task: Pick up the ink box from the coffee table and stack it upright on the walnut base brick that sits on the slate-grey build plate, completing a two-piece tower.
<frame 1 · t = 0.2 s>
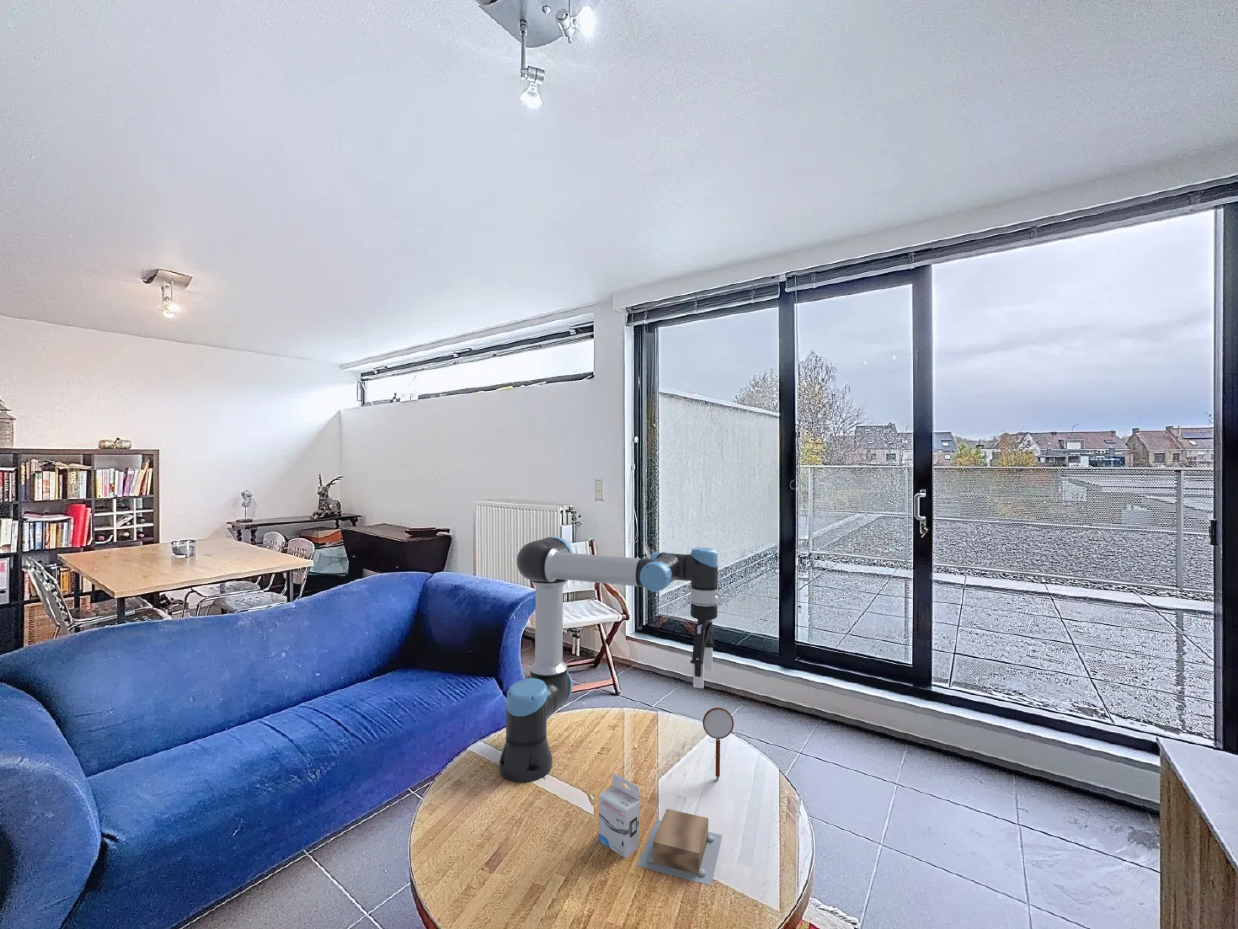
hand: (703, 678, 149), 28 cm above the table, fingers open, 13 cm apart
base brick: (681, 849, 119), point 1 cm above the table, touching build plate
ink box: (618, 850, 120), on the table
magnifying glass: (717, 780, 148), on the table
build plate: (681, 855, 119), on the table
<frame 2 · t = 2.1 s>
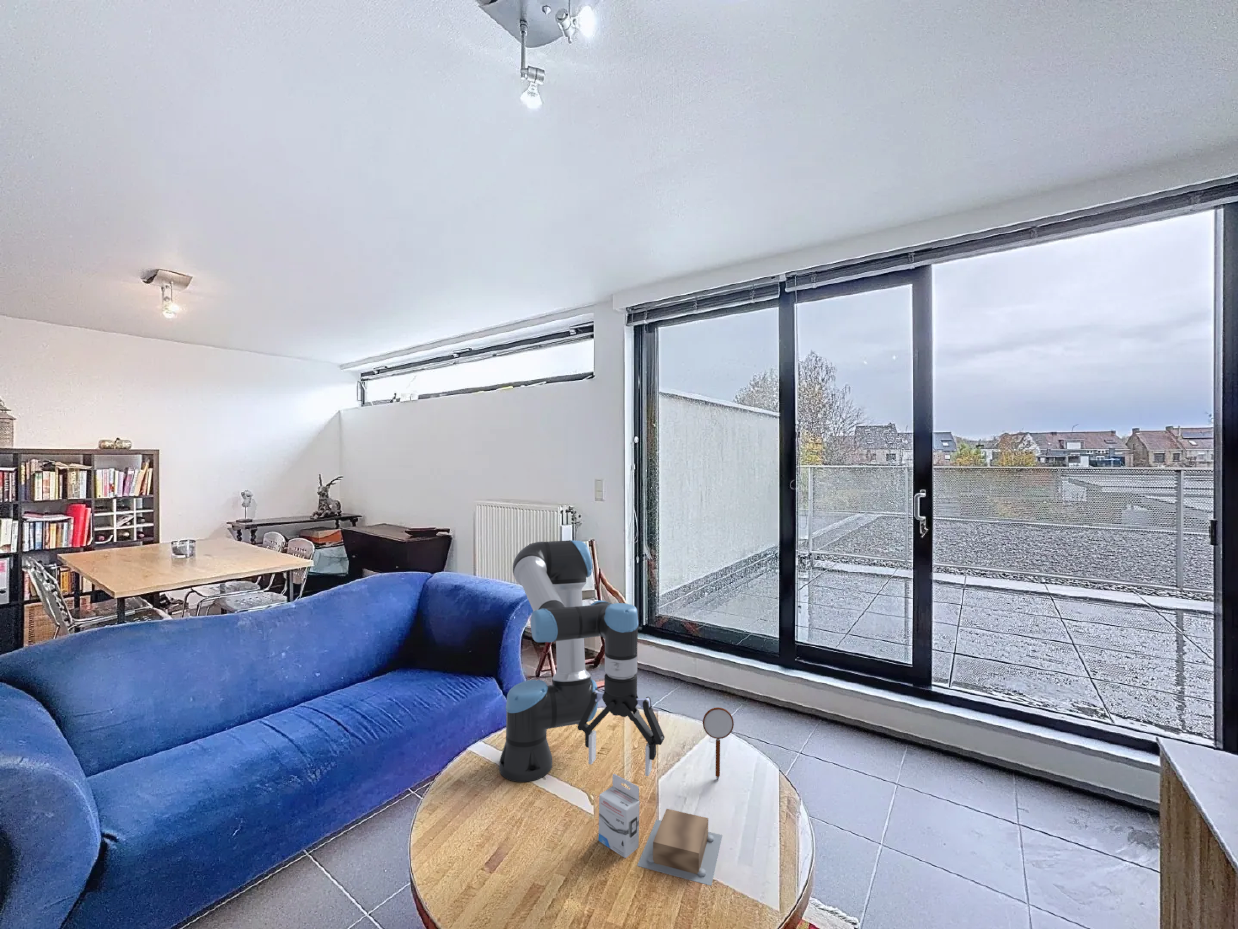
hand: (619, 767, 121), 19 cm above the table, fingers open, 13 cm apart
nothing on the table moved.
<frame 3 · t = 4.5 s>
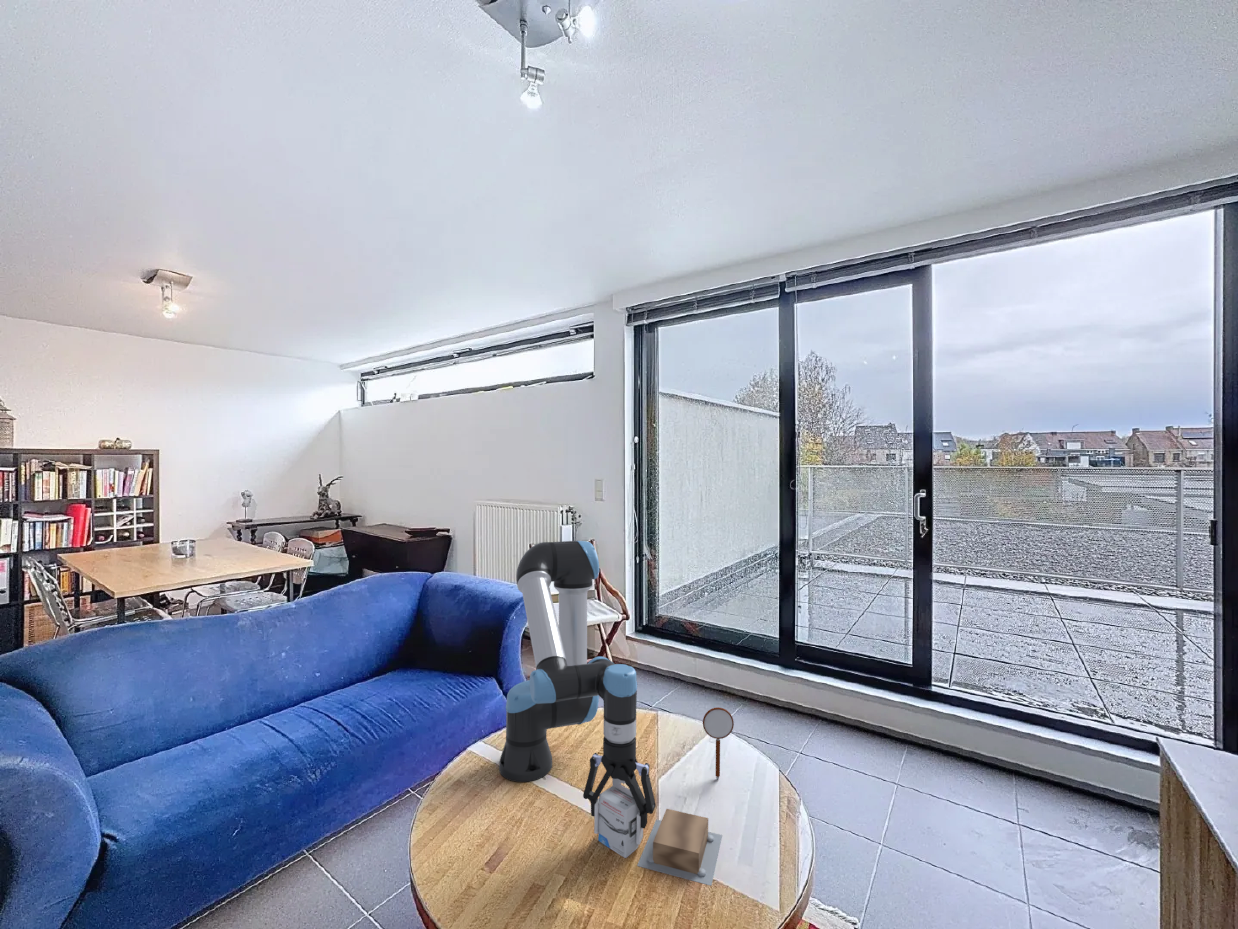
hand: (618, 835, 120), 3 cm above the table, fingers closed on ink box, 9 cm apart
ink box: (618, 849, 120), on the table, touching gripper
everything else where it was.
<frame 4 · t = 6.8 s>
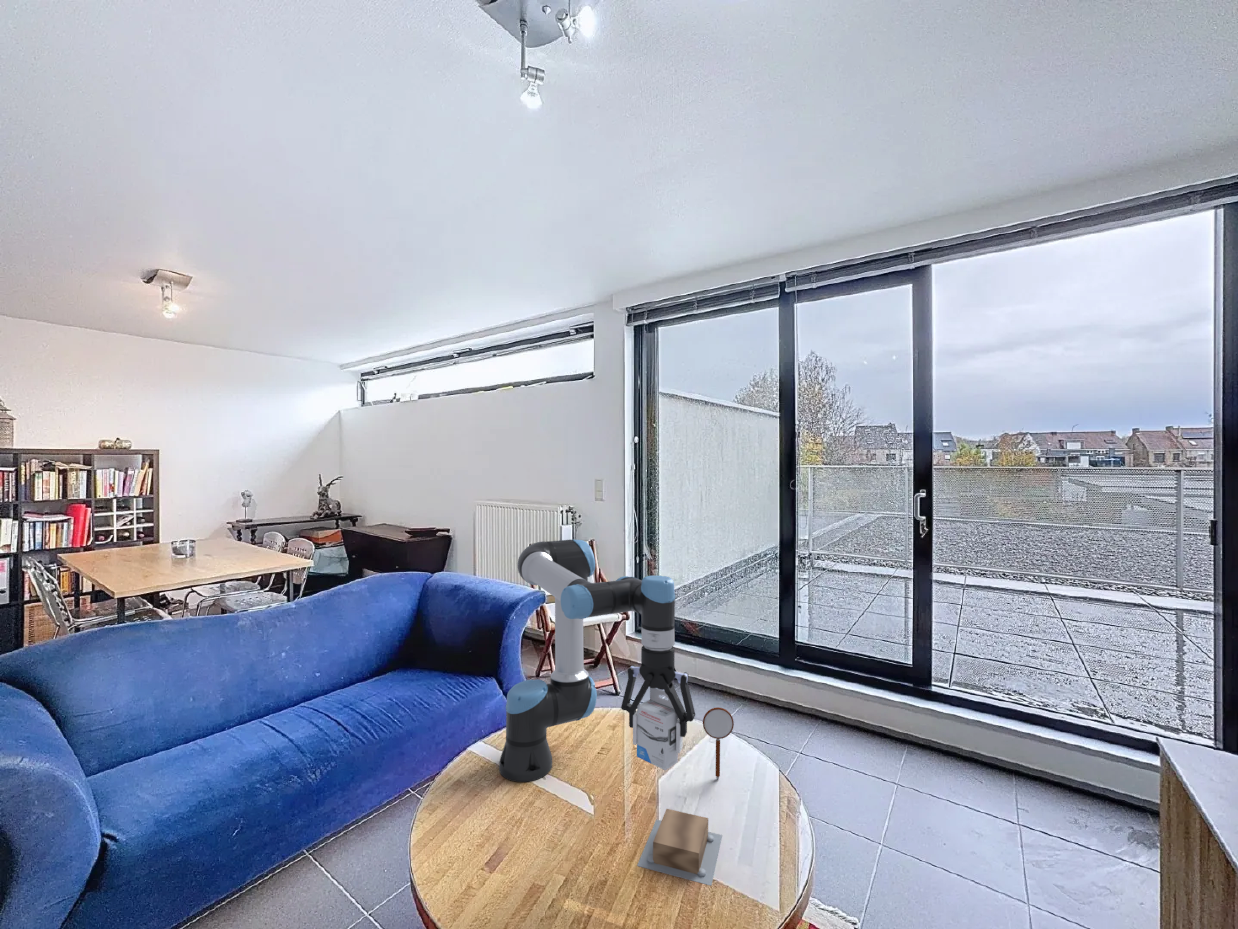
hand: (657, 746, 119), 24 cm above the table, fingers closed on ink box, 9 cm apart
ink box: (657, 761, 119), point 21 cm above the table, touching gripper
everything else where it was.
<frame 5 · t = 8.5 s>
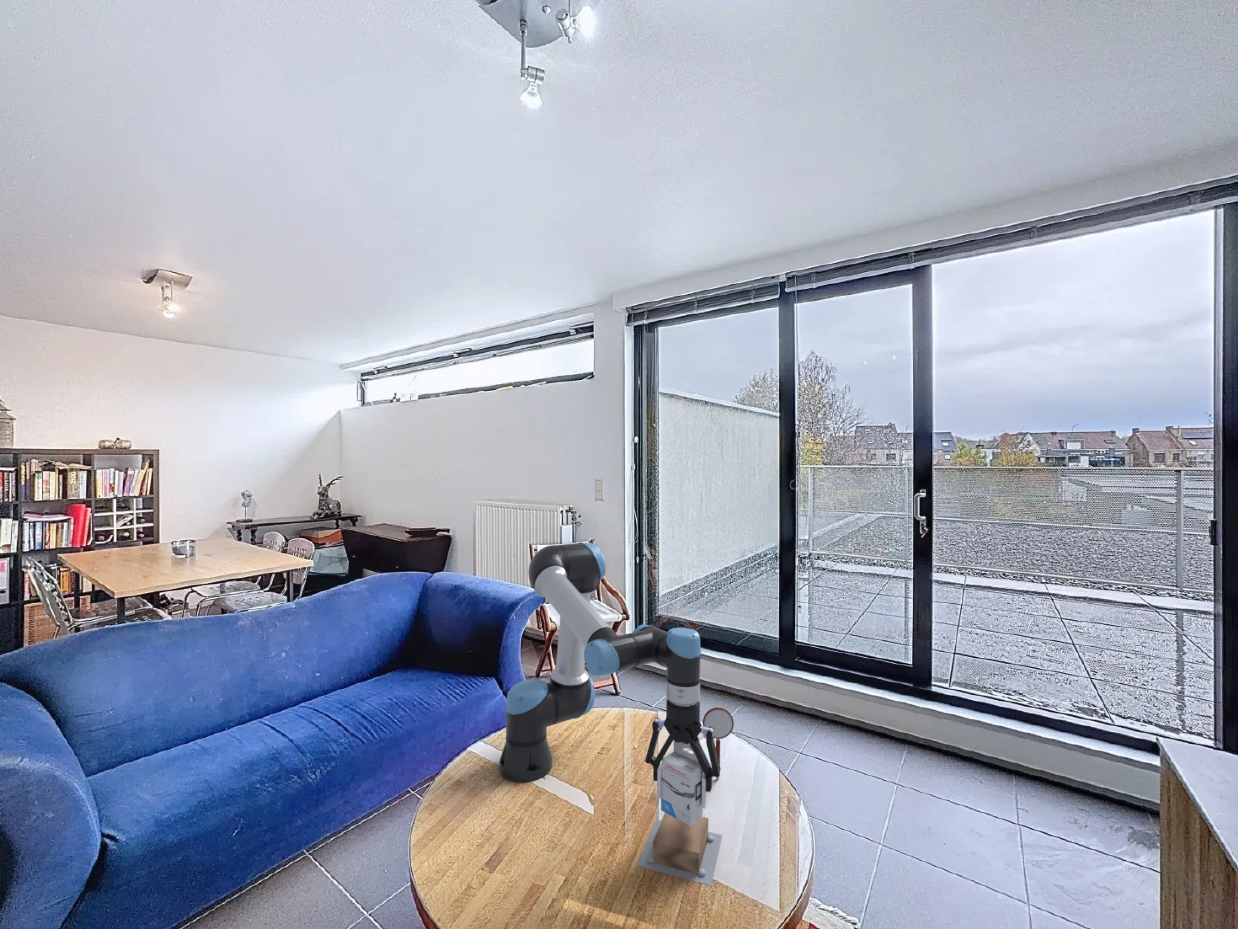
hand: (682, 799, 119), 12 cm above the table, fingers closed on ink box, 9 cm apart
ink box: (681, 814, 119), point 9 cm above the table, touching gripper
everything else where it was.
when the fingers open (10 cm above the table, at t = 9.6 s): ink box drops 1 cm, resting on base brick.
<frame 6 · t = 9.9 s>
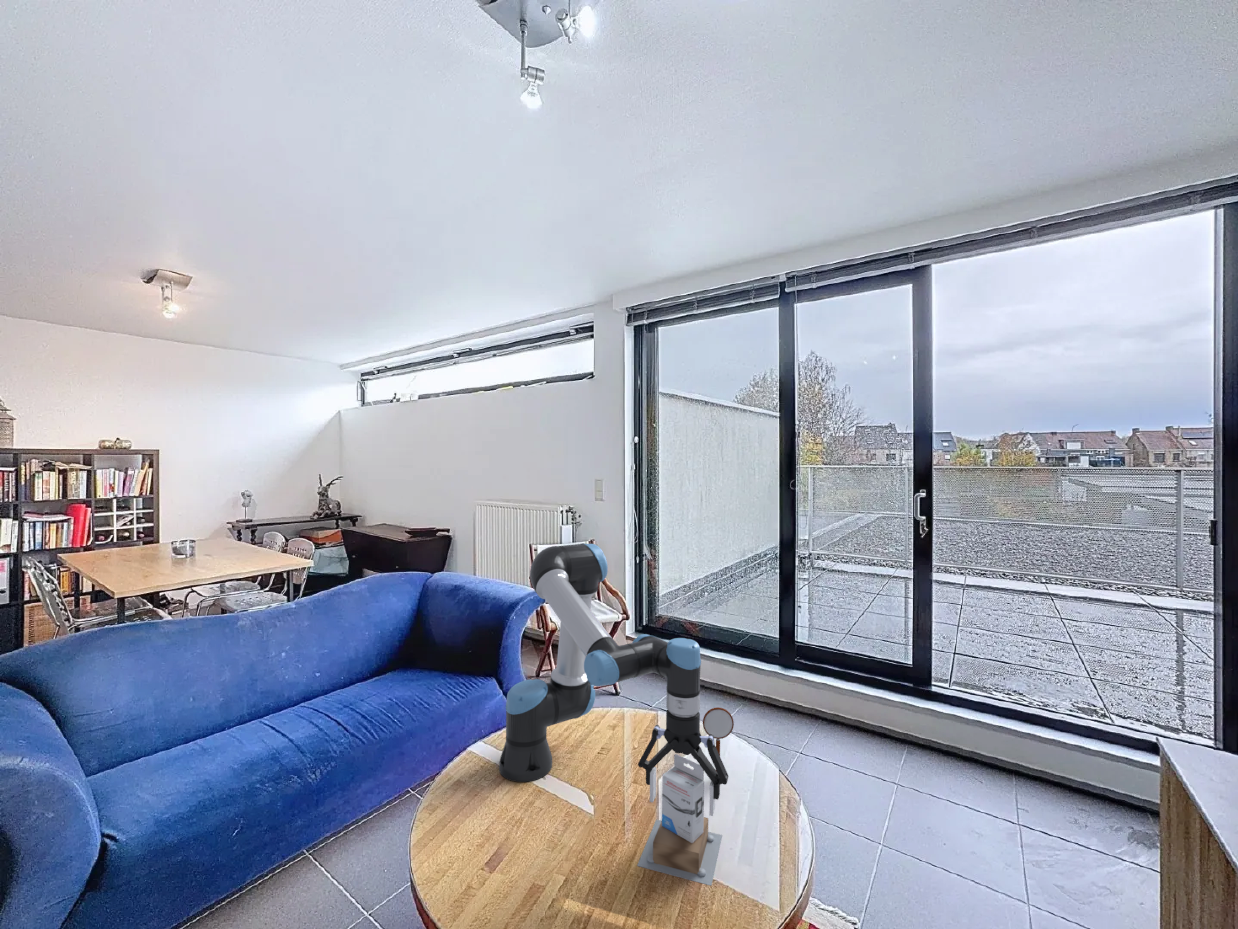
hand: (681, 805, 119), 11 cm above the table, fingers open, 13 cm apart
base brick: (681, 849, 119), point 1 cm above the table, touching build plate, ink box
ink box: (682, 830, 119), point 6 cm above the table, touching base brick
everything else where it was.
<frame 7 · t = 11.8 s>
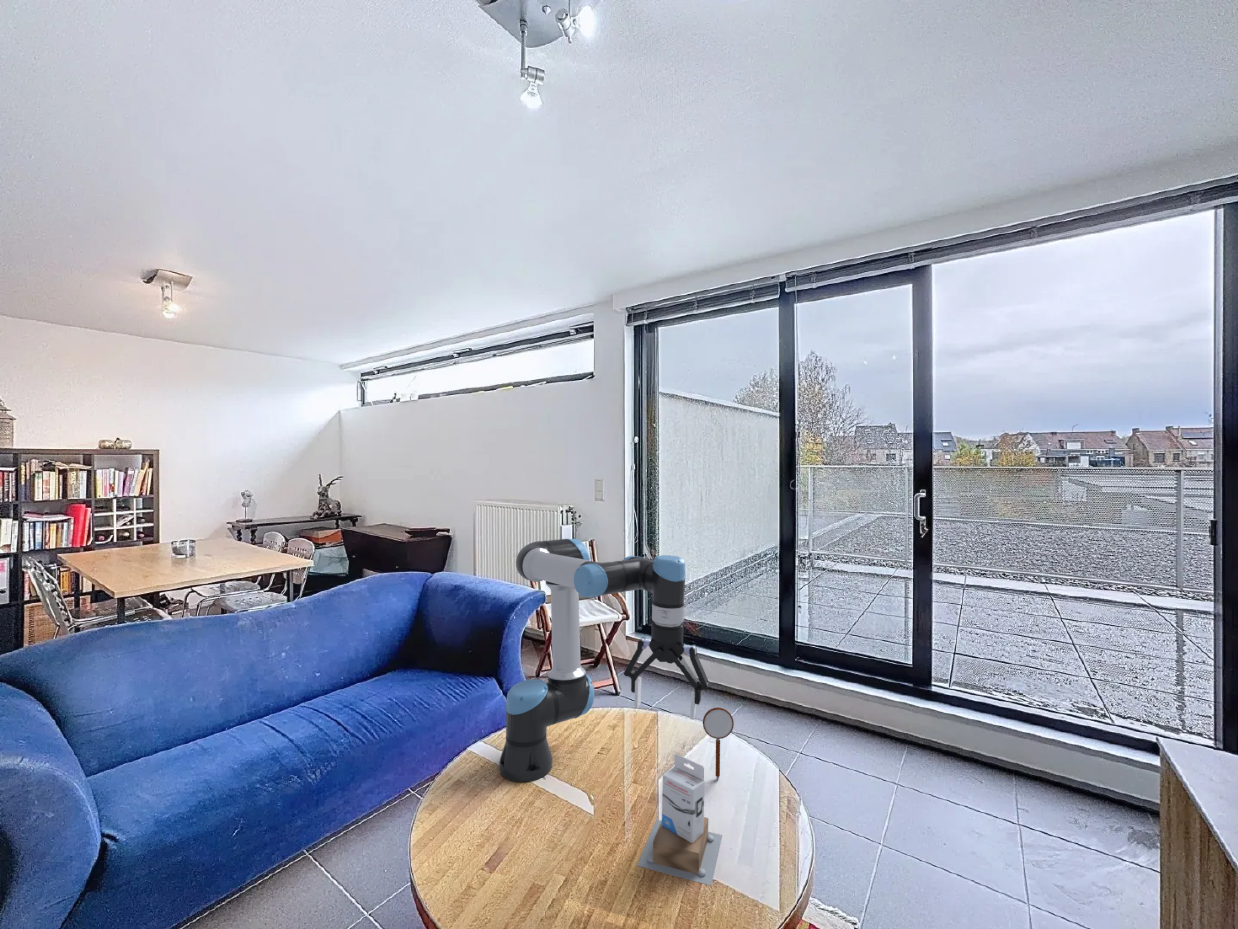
hand: (664, 711, 125), 29 cm above the table, fingers open, 13 cm apart
nothing on the table moved.
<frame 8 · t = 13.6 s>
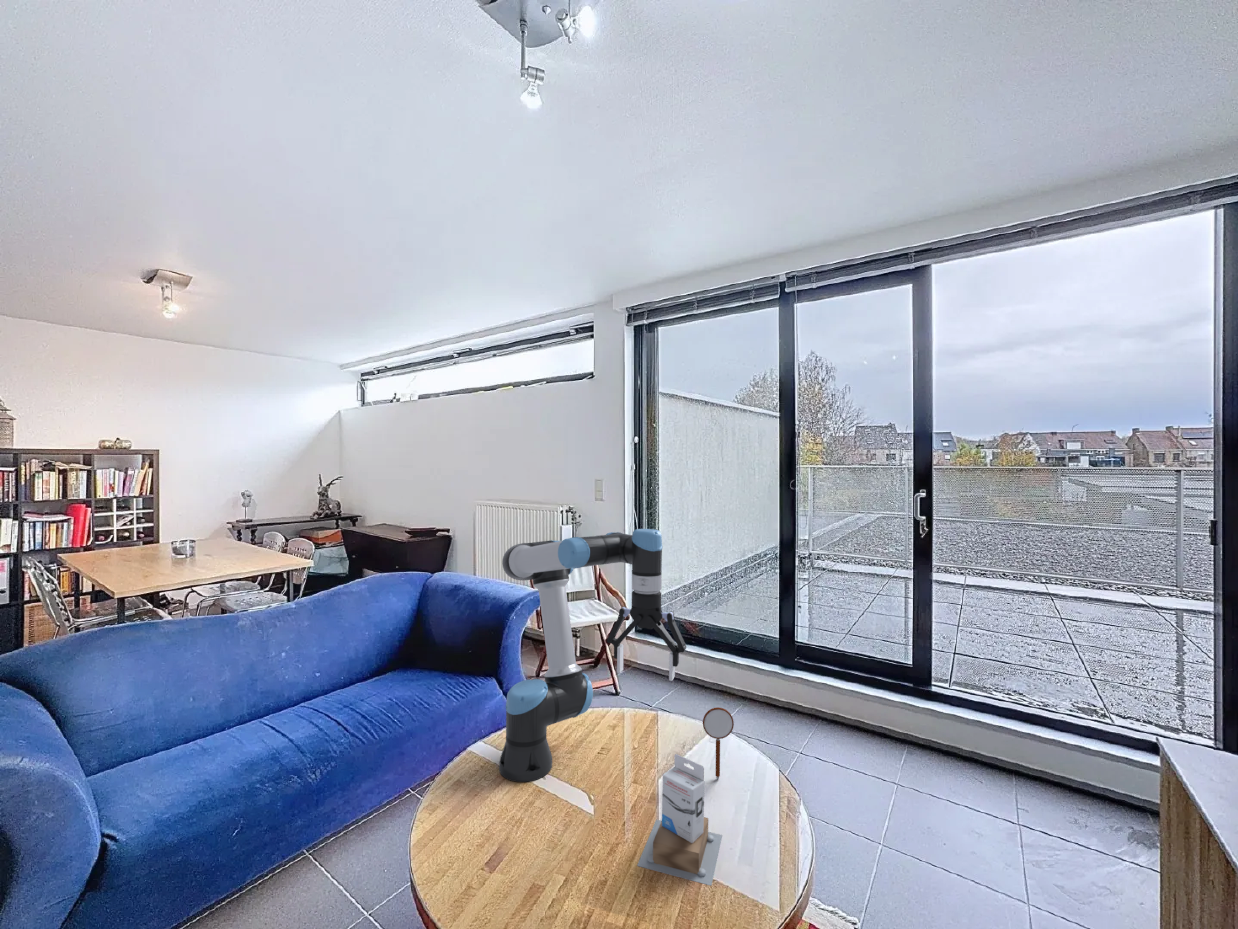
hand: (645, 675, 133), 35 cm above the table, fingers open, 13 cm apart
nothing on the table moved.
at the end: ink box inside the target area on the base brick (0.2 cm from its centre), point 4.3 cm above the base brick's base; ink box tilted 0°; ink box touching base brick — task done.
